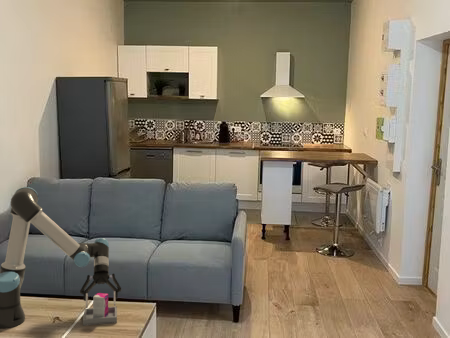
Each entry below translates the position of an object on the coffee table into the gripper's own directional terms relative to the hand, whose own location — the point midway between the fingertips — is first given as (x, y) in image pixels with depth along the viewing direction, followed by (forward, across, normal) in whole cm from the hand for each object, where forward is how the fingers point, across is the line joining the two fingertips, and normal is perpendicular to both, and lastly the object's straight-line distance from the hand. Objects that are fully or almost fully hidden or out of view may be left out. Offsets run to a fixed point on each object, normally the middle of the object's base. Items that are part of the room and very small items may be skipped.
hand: (100, 305), depth 240 cm
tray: (+5, 0, -5) cm, 7 cm away
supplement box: (+4, 0, -5) cm, 6 cm away
